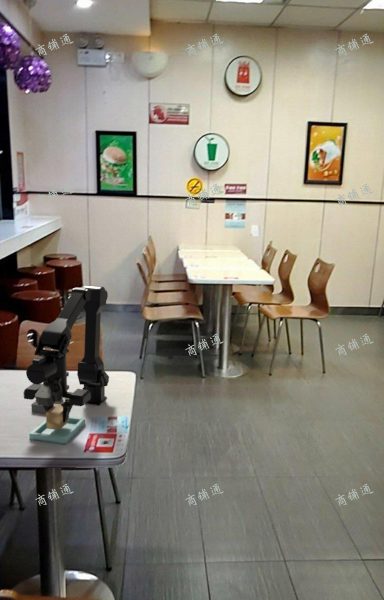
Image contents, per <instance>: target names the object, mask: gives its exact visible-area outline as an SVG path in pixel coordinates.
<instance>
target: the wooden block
mask: <svg viewBox="0 0 384 600" xmlns="http://www.w3.org/2000/svg"><path fill="white" fill-rule="evenodd" d="M61 404H62V403H61ZM61 404H60V403H56V404H54V406H53V407H52V408H51V409H50V410H49V411H47V412H46V414H45V415H46V416H45V420H46V422H47V429H54V430H60V429H61V428H62V427H63V426H64V425H66V424H67V423H68V422H69V416H70V415H69V416H68V418H67V421H66V422H65V423H63V407H62V406H61Z"/></svg>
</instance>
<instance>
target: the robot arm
mask: <svg viewBox="0 0 384 600" xmlns="http://www.w3.org/2000/svg"><path fill="white" fill-rule="evenodd" d="M108 297H109V294H108V291H107V289H106V288H105V287H104V286H99V285H98V286H97V285H87V284H86V285H84V286H83V287H78V286H76V287H74V288H72V289H71V294H70V296H69V298H68V299H67V301H66V303H65V305H64V306H63V308H62V310H61V312H60V313H59V314H58V317H57V318H56V319H55V320H54V321H52V322H50V323H48V324H47V325H46V327H45V328H44V329H43V331H41V333H40V336H39V338H38V342H37V344H36V347H35V351H34V356H37V357H36V358H33V359H32V360H31V364H30V365H29V366H28V367H27V369H26V371H25V372H26V373H25V374H26V378H27V379H28V381H29V382H30V383H31V385H29V386H27V387H26V388H25V389H24V391H23V398H24V400H31V401H32V400H34V399H35V402H37V404H38V405H42V406H43V407H44V409H45V411H46V412H47V411H49V410H50V409H51V408H52V407H53V406H55V403H56V402H57V403H58V402H59V401H60V400H61V398H63V399H64V402H63V403H61V406H62V407H63V423H65V422H66V421H67V418H68V416H70V414H71V410H73V409H72V408H73V407H74V406H75V407H84V406H85V404H86V405H93V406H101V404H103V402H104V401H106V400H107V397H108V396H105V395H106V393H105V391H106V389H105V387H108V385H109V381H110V380H109V379H110V376H109V375H108V373H107V372H106V371H105V365H104V361H103V360H102V358H101V356H100V344H101V341H100V339H101V317H102V316H101V314H102V311H104V309H105V307H106V305H107V300H108ZM82 310H83V311H84V313H85V316H84V317H85V318H84V319H85V320H84V321H85V322H84V346H83V347H84V348H83V349H84V353H83V358H82V359H81V360H80V361H79V362H78V364H77V373H76V374H77V375H76V376H77V379H78V382H79V385H83V386H82V388H77V389H76V390H74V391H68V390H70V385H69V384H68V378H67V377H69V376H70V374H69V373H70V372H68V371H67V354H68V353H70V349H68V347H69V345H70V342H71V339H72V337H73V335H72V329H73V326H74V325H75V323H76V321H77V319H78V317H79V316H80V314H81V312H82ZM60 402H61V401H60ZM60 402H59V403H60Z"/></svg>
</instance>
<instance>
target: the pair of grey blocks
mask: <svg viewBox="0 0 384 600" xmlns="http://www.w3.org/2000/svg"><path fill="white" fill-rule="evenodd" d="M63 400H64V398H61V400H60V401H59V403H60V402H62V401H63ZM30 405H31V406H30V407H31V412H32V413H39V414H45V415H46V411H45V409H44V407H43V406H42V405H38V404H37V402H36V401H33V402H32V404H30Z"/></svg>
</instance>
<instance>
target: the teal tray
mask: <svg viewBox="0 0 384 600" xmlns="http://www.w3.org/2000/svg"><path fill="white" fill-rule="evenodd" d="M85 425H86V418H83V417H78V416H71V415H69V422H68V423H67V424H66V425H64V426H63V427H62V428H61V429H60V430H54V429H47V422H46V419H44V421H43V422H41V423H40V424H39V425H37V427H35V428H34V429H32V431H30V432H29V440H32V441H38V442H45V443H51V444H55V445H56V444H57V445H64V446H66V444H67V443H68V442H69V441H70V440H71V439H72V438H73V437H75V435H76V434H77V433H78V432H79V431H80V430H81V429H82V428H83V427H84V426H85Z"/></svg>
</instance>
